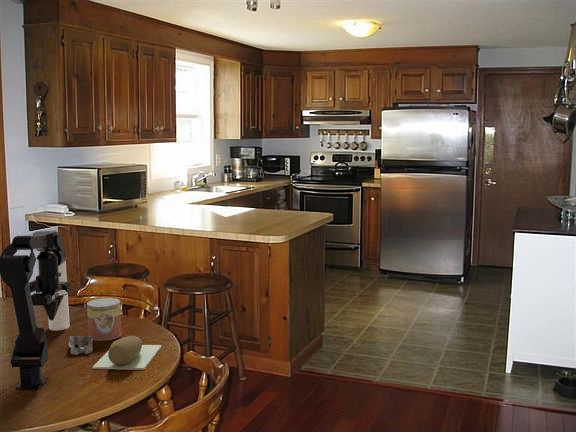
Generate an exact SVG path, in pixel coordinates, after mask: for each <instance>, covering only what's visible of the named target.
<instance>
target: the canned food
mask: <svg viewBox="0 0 576 432" xmlns="http://www.w3.org/2000/svg"><path fill="white" fill-rule="evenodd" d="M86 310H87V311H86V313H87V324H88V325H87V326H88V328H87V329H88V337H89V336H91V337H92V339H93V341H104V342H105V341H112V340H115V339H118V338H120V337H122V334H123V333H122V318H121V317H122V315H121V314H122V312H121V300H120V299H119V298H116V297H115V298H114V297H102V298H95V299H92V300H89V301H88V302H87V303H86Z"/></svg>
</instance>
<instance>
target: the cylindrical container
mask: <svg viewBox="0 0 576 432" xmlns="http://www.w3.org/2000/svg"><path fill="white" fill-rule="evenodd" d="M66 262H67V260H66V261H65V262H64V263H62V264H61V265H59V266H58V273H61V276H60V277H59V282H68V276H67V263H66ZM58 293H59V295H63V296H64V297H63V299H62V301H61V303H60V306H59V308H58V310H57V313H56V315H55V318H54V320H49V317H48V316H47V318H48V329H49V330H50V331H63V330H67V329H69V328H70V323H71V322H70V310H69V294H68V293H69V292H66V291H65V290H61V291H59V292H58Z"/></svg>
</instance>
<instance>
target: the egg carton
mask: <svg viewBox="0 0 576 432" xmlns="http://www.w3.org/2000/svg"><path fill="white" fill-rule="evenodd" d="M93 341H94V340H93V339H92V337H91V336H89V335H88V336H86V335H76V336H73V335H70V337H69V340H68V346H69V347H70V355H75V356H77V355H78V356H79V354H90V353H92V352H93V350H94V348H93ZM75 346H77V347H75Z"/></svg>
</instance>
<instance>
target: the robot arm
mask: <svg viewBox="0 0 576 432" xmlns="http://www.w3.org/2000/svg"><path fill="white" fill-rule="evenodd" d="M34 250H36V251H37V252H39V253H38V255H37V256H36V255H35V252H34ZM18 251H30V254H27V255H25V254H24V255H17V254H16V253H17V252H18ZM15 254H16V255H15ZM67 259H68V253H67V251H66V250H65V246H64V244H63V241H62V238H61V235H60V234H59V232H58V231H57V230H39V231H38V230H37V231H35V232H33V233H32V235H16V236H13V239H12V241H11V243H10V244H9V245H8V246H7V247H5V248H4V249H3V250H2V251H1V254H0V277H1V281H2V282H3V283H4V284H5V285H6V286H7V287H8V288H9V289H10V293H11V298H12V302H13V303H12V304H13V308H14V314H15V318H16V319H15V320H16V323H17V324H16V325H17V329H18V335H17V337H16V339H15V341H14V347H13V350H12V351H13V352H12V354H11V360H10V365H11V368H12V369H13V368H19V370H18V371H19V382H20V383H19V384H17V385H16V386H15V390H32V391H33V390H35V391H36V390H38V389H40V388H41V387H42V386H43V385H44V384H46V382H47V381H48V379H47V378H42V368H43V367H44V366H45V365H46V363H48V359H49V358H48V357H49V355H48V354H49V342H48V341H47V337H46V331H45V329H44V328H43V327H39V326H38V324H37V321H36V320H37V319H36V315H35V310H34V306H35V307H36V306H37V307H38V306H39V307H40V306H42V307H43V309H44V310H45V313H46V316H47V318H48V317H49V320H54V318H55V315H56V313H57V310H58V308H59V306H60V303H61V301H62V299H63V297H64V296H63V295H59V293H58V292H59V291H61V290H65V291H66V292H68V293H69V292H71V291H72V285H71V283H70V282H69V281H67V282H59V277H60V276H61V273H58V266H59V265H61V264H62V263H64V262H65V261H66V262H67ZM36 262H37V264H38V265H37V266H38V274H37V275H36V276H35V279H34V280H31V278H32V276H33V274H34V267H35V264H36ZM30 280H31V281H30ZM34 292H35V293H34ZM31 293H33V294H31ZM49 320H48V321H49ZM25 358H26V359H25ZM27 358H29V359H27Z"/></svg>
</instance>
